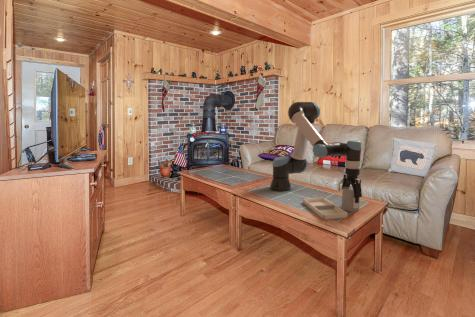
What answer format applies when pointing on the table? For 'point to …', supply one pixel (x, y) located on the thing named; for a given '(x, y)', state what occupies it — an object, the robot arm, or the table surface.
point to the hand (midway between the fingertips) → (350, 204)
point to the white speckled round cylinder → (348, 199)
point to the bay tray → (325, 208)
